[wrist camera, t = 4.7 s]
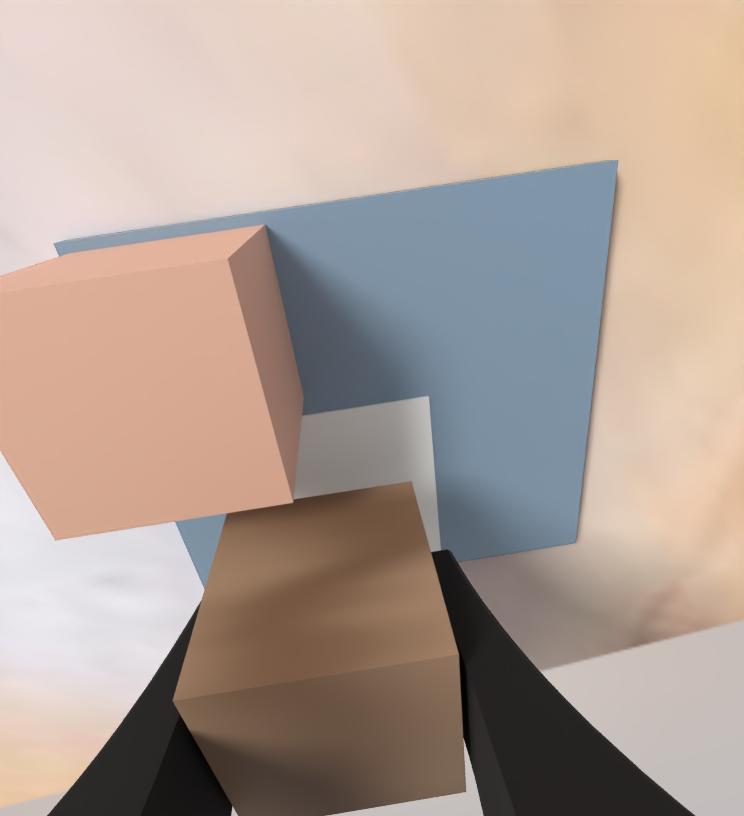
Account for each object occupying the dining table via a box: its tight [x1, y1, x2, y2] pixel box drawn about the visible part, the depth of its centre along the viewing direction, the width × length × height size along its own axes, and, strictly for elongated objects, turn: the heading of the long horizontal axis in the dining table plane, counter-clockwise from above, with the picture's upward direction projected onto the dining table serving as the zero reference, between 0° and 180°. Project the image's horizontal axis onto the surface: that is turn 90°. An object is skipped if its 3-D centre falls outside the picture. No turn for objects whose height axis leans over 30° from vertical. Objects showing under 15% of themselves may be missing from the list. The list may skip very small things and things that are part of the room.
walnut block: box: [173, 481, 466, 816], centre depth 10 cm, size 4×4×4 cm
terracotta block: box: [0, 224, 304, 540], centre depth 10 cm, size 4×4×4 cm
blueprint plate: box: [54, 160, 618, 589], centre depth 13 cm, size 13×12×1 cm
